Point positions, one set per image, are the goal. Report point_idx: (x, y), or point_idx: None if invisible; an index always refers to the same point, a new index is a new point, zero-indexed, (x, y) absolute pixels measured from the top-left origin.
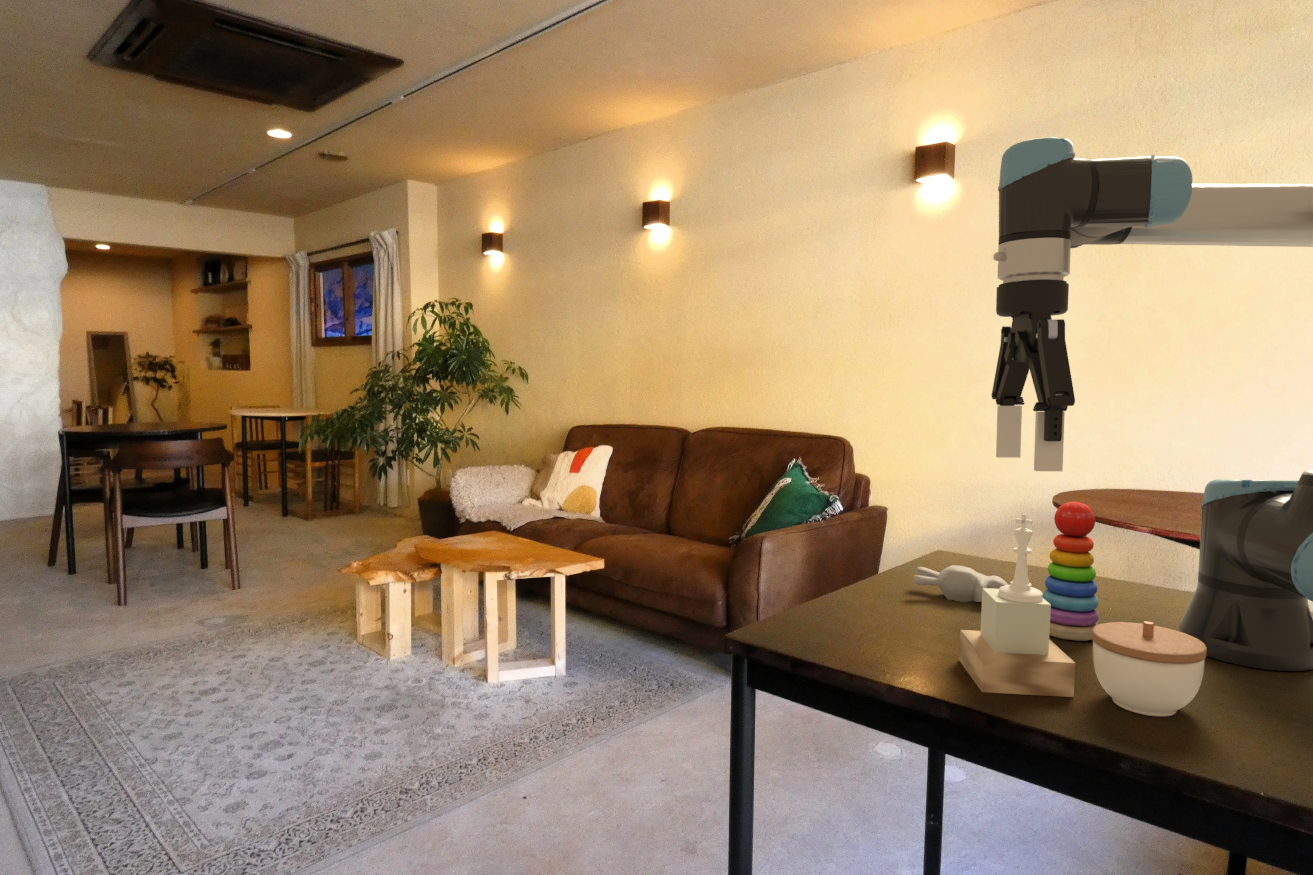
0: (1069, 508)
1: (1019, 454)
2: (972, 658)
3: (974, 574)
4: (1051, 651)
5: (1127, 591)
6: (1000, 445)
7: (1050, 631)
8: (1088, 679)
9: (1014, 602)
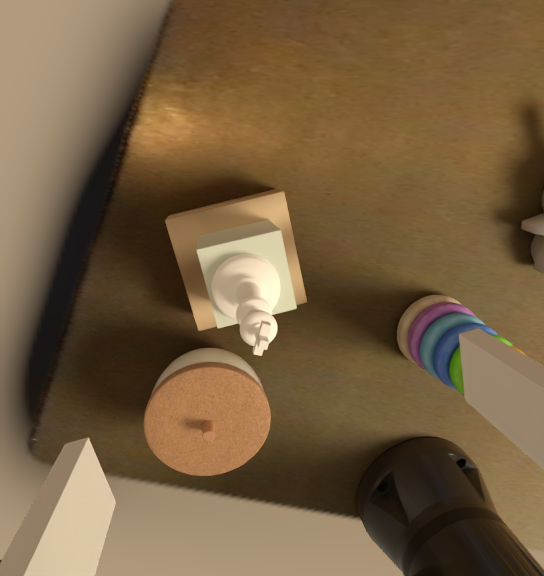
0: None
1: (471, 403)
2: (214, 206)
3: None
4: None
5: None
6: (487, 359)
7: (408, 309)
8: None
9: (207, 277)
